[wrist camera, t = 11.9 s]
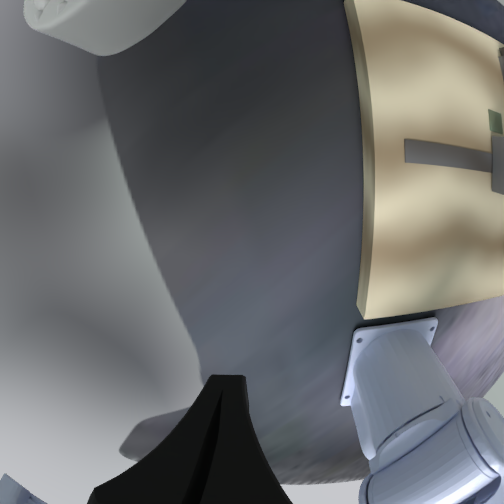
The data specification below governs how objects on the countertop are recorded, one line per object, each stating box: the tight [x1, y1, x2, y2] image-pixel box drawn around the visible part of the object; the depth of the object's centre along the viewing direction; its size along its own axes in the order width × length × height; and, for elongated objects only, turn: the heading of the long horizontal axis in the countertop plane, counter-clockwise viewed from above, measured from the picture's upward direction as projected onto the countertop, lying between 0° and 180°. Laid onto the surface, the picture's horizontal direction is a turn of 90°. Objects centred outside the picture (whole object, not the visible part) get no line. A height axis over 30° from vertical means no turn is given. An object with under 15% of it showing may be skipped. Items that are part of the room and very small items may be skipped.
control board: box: [344, 0, 504, 320], centre depth 13 cm, size 22×20×4 cm
